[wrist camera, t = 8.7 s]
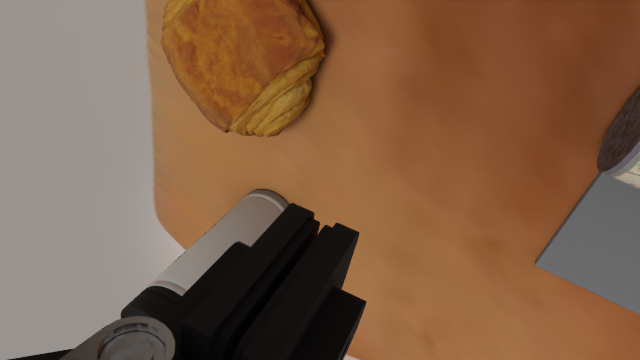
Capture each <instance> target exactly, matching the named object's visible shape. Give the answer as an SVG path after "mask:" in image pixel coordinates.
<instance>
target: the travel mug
mask: <svg viewBox="0 0 640 360" xmlns="http://www.w3.org/2000/svg"><path fill="white" fill-rule="evenodd" d="M287 206H288V204H287V202H286V201H285V200H284V199H283V198H281V197H280V196H279V195H277V194H276V193H274V192H271V191H268V190H255V191H252V192H250V193H249V194H248V195H247V196H246V197H245V198H244V199H243V200H241V201H240V202H239V203H238V204H237V205H236V206H235V207H234V208H233V209H231V210H230V211H229V212H228V213H227V214H226V215H225V216H224V217H223V218H222V219H221V220H219V221H218V222H217V223H216V224H215V225H214V226H213V227H212V228H211V229H210V230H208V231H207V232H206V233H205V234H204V235H203V236H202V237H201V238H200V239H199V240H197V241H196V242H195V243H194V244H193V245H192V246H191V247H190V248H189V249H188V250H186V251H185V252H184V253H183V254H182V255H181V256H180V257H179V258H178V259H177V260H175V261H174V262H173V263H172V264H171V265H170V266H169V267H168V268H167V269H166V270H164V272H162V273H161V274H160V275H159V276H158V277H157V278H156V279H155V280H154V281H152V282H151V283H150V284H149V285H148V286H147V287H146V288H145V289H144V290H143V291H142V292H141V293H140V294H139V295H138V296H137V297H136V298H135V299H134V300H133V301H132V302H130V303H129V304H128V305H127V306H126V307H125V308H124V309H123V310H122V312H121V319H123V318H126V317H133V316H144V317H149V318H154V319H156V320H159V319H160V318H161V317H162V316H163V315H164V314H165V313H166V312H167V311H168V310H169V309H170V308H171V307H172V306H173V305H174V304H175V303H176V302H177V301H178V300H179V299H180V298H181V296H182V295H183V294H184V293H185V292H186V291H187V290H188V289H189V288H190V287H191V286H192V285H193V284H194V283H195V282H196V281H197V280H198V279H199V278H200V277H201V276H202V275H203V274H204V273H205V272H206V271H207V270H208V269H209V268H210V267H211V266H212V265H213V264H214V263H215V262H216V261H217V260H218V259H219V258H220V257H221V256H222V255H223V253H224V252H225V251H226V250H227V249H228V248H229V247H230V246H231V245H233V244H234V243H235V242H238V241H240V242H242V243H244V244H246V245H248V246H250V247H251V246H252V245H253V244H254V243H255V241H256V240H257V239H258V238H259V237H260V236H261V235H262V234H263V233H264V232H265V231H266V229H267V228H268V227H269V226H270V225H271V224H272V223H273V222H274V221H275V220H276V218H277V217H278V216H279V215H280V214H281V213H282V212H283V211H284V210H285V209H286V208H287Z"/></svg>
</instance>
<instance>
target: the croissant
mask: <svg viewBox="0 0 640 360" xmlns="http://www.w3.org/2000/svg"><path fill="white" fill-rule="evenodd" d="M164 10H165V13H164V16H163V18H164V24H163V27H162V32H163V35H162V39H161V46H162V48H163V50H164V53H165V54H166V56H167V59H168V62H169V64H170V65H171V67H172V70H173V72H174V74H175V76H176V78H177V80H178V82H179V83H180V84H181V86H182V87H183V89H184V90H185V92H186V93H187V94H188V95H189V97H190V98H191V100H192V101H193V102H194V103H195V104H196V106H197V107H198V109H199V110H200V111H201V112H202V114H203V115H204V116H205V117H206V118H207V119H208V120H209V121H210V122H211V123H212V124H213V125H215V126H216V127H217V128H219V129H220V130H222V131H223V132H225V133H227V132H229V131H231V132H236V133H238V134H240V135H245V136H251V135H256V136H260V137H262V136H267V137H270V136H275V135H278V134H279V133H280V132H281V131H282V130H283V129H284V128H285V127H287V126H288V125H290V124H291V123H293V122H294V121H295V120H296V118H297V117H298V116H300V115H301V113H302V111H303V109H304V107H306V105H307V104H309V102H310V97H308V96H309V92H310V91H311V88H312V82H311V79H310V77H311V76H313V75H314V74H315V73H316V71H317V69H318V65H319V63H320V62H321V61H323V57H326V55H325V53H324V47H325V44H324V42H323V35H322V32H321V30H320V27H319V24H318V22H317V20H316V18H315V16H314V15H313V13H312V11H311V9H310V8H309V6H308V4H307V3H306V1H305V0H166V7H165V8H164Z"/></svg>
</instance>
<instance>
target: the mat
mask: <svg viewBox="0 0 640 360" xmlns="http://www.w3.org/2000/svg"><path fill="white" fill-rule="evenodd" d="M535 266H537V267H540V268H542V269H544V270H546V271H548V272H550V273H552V274H554V275H557V276H559V277H561V278H563V279H565V280H567V281H569V282H571V283H573V284H576V285H578V286H580V287H582V288H584V289H586V290H588V291H590V292H593V293H595V294H597V295H599V296H601V297H603V298H605V299H607V300H610V301H612V302H614V303H616V304H618V305H620V306H622V307H624V308H626V309H629V310H631V311H633V312H635V313H637V314H639V315H640V189H638V188H636V187H633V186H631V185H629V184H627V183H625V182H622V181H620V180H618V179H616V178H614V177H612V176H611V175H609V174H605V173H603V172H601V171H600V172H599V174H598V175H597V176H596V178H595V179H594V180H593V182H592V183H591V185H590V186H589V187H588V189H587V190H586V192H585V193H584V194H583V196H582V197H581V198H580V200H579V201H578V203H577V204H576V205H575V207H574V208H573V210H572V211H571V212H570V214H569V215H568V216H567V218H566V219H565V221H564V222H563V223H562V225H561V226H560V228H559V229H558V230H557V232H556V233H555V234H554V236H553V237H552V239H551V240H550V241H549V243H548V244H547V246H546V247H545V248H544V250H543V251H542V252H541V254H540V255H539V257H538V258H537V259H536V261H535Z"/></svg>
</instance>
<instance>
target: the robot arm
mask: <svg viewBox="0 0 640 360" xmlns="http://www.w3.org/2000/svg"><path fill="white" fill-rule="evenodd" d="M319 226H320V222H319V221H316V220H314V212H312V211H310V210H307V209H305V208H303V207H300V206H298V205H296V204H294V203H291V204H290V205H288V206H287V208H286V209H285V210H284V211H283V212H282V213H281V214H280V215H279V216H278V217H277V218H276V220H275V221H274V222H273V223H272V224H271V225H270V226H269V227H268V228H267V229H266V231H265V232H264V233H263V234H262V235H261V236H260V237H259V238H258V239H257V240H256V241H255V243H254V244H253V245H252V246H251V247H250V246H248V245H246V244H244V243H242V242H240V241H238V242H235V243H234V244H233V245H231V246H230V247H229V248H228V249H227V250H226V251H225V252H224V253H223V255H222V256H221V257H220V258H219V259H218V260H217V261H216V262H215V263H214V264H213V265H212V266H211V267H210V268H209V269H208V270H207V271H206V272H205V273H204V274H203V275H202V276H201V277H200V278H199V279H198V280H197V281H196V282H195V283H194V284H193V285H192V286H191V287H190V288H189V289H188V290H187V291H186V292H185V293H184V294H183V295H182V296H181V298H180V299H179V300H178V301H177V302H176V303H175V304H174V305H173V306H172V307H171V308H170V309H169V310H168V311H167V312H166V313H165V314H164V315H163V316H162V317H161V318H160V319H159V320H156V319H154V318H149V317H144V316H133V317H126V318H123V319H119V320H116V321H114V322H112V323H111V324H109V325H107V326H105V327H104V328H102V329H101V330H99V331H98V332H97V333H95V334H94V335H92V336H91V337H90V338H88V339H87V340H86V341H84V342H83V343H82V344H80V345H78V346H77V347H76V348H74V349H68V350H63V351H57V352H51V353H45V354H39V355H33V356H27V357H22V358H16V359H9V360H343V358H344V357H345V354H346V352H347V350H348V348H349V346H350V343H351V341H352V339H353V336H354V334H355V332H356V329H357V327H358V324H359V322H360V319H361V316H362V314H363V311H364V308H365V305H366V302H367V301H364V300H362V299H360V298H358V297H356V296H354V295H352V294H350V293H348V292H345V291H343V290H341V289H342V286H343V283H344V280H345V277H346V274H347V271H348V268H349V265H350V262H351V259H352V256H353V253H354V250H355V246H356V243H357V240H358V237H359V232H357V231H355V230H353V229H351V228H348V227H346V226H344V225H341V224H339V223H336V224H335V225H334V226H333V228H332V227H330V226H328V225H325V226H324V227H323V228H322V230H321V231H320V232H319V234H318V230H319ZM317 234H318V235H317Z"/></svg>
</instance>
